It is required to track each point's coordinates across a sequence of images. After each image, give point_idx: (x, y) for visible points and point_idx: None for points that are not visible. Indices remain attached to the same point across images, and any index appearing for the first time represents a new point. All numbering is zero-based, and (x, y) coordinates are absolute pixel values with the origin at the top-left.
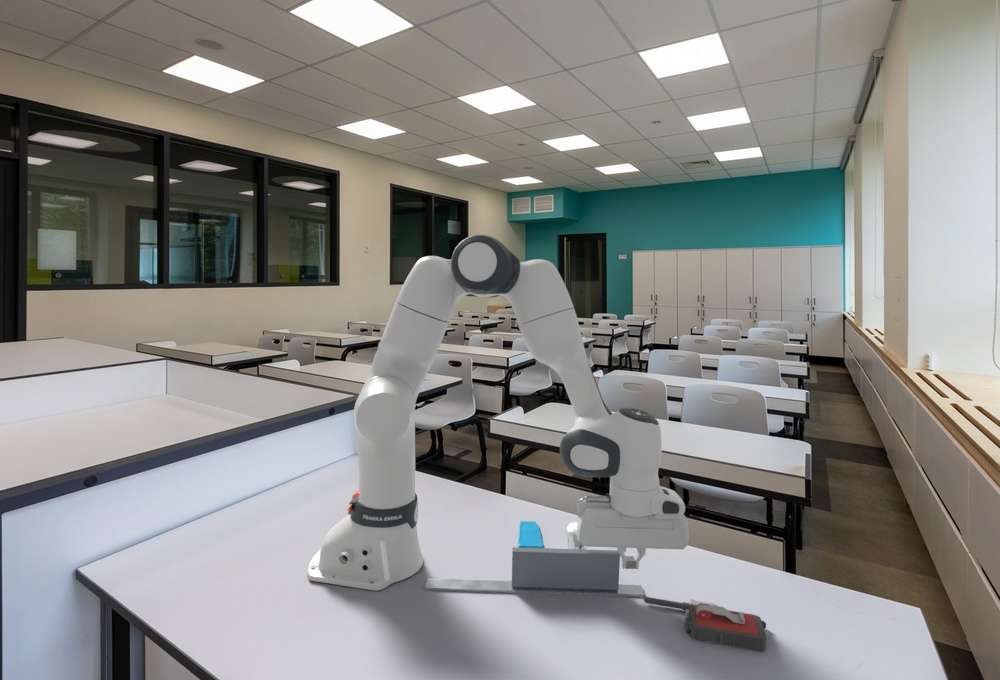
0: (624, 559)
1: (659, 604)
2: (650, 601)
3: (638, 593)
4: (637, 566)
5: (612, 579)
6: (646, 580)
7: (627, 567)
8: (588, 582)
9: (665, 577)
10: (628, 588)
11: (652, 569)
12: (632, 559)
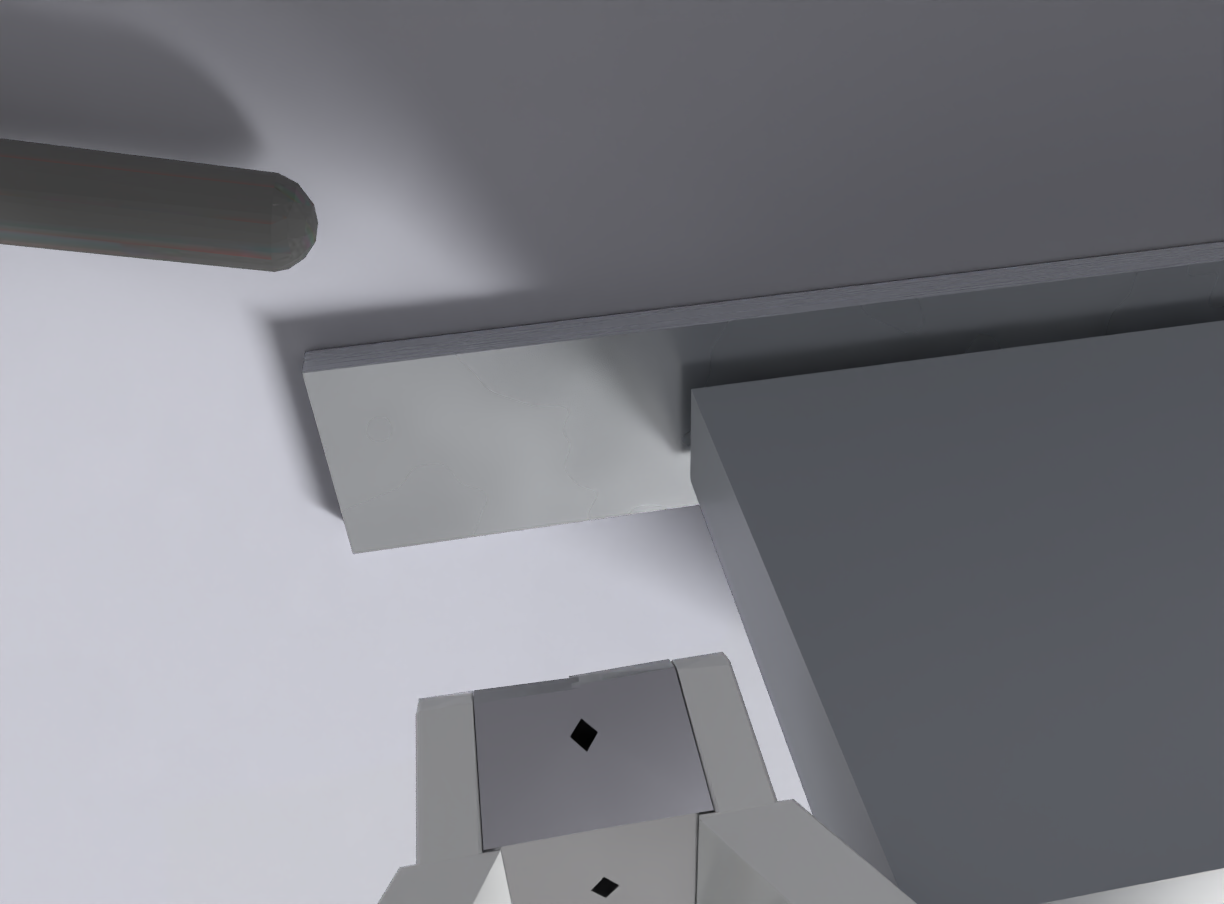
0: (776, 829)
1: (29, 142)
2: (198, 175)
3: (395, 381)
4: (441, 741)
5: (835, 476)
6: (273, 663)
7: (649, 683)
8: (1159, 390)
9: (34, 753)
10: (530, 459)
11: (203, 828)
12: (563, 874)
